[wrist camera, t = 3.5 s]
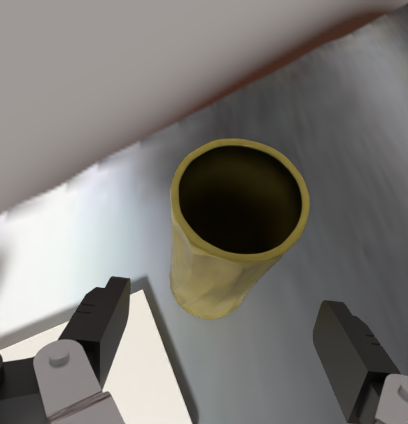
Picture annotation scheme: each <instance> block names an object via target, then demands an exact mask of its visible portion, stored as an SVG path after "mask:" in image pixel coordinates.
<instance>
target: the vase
mask: <svg viewBox="0 0 408 424" xmlns="http://www.w3.org/2000/svg"><path fill="white" fill-rule="evenodd" d="M170 203H171V224H172V258H171V271H170V285H171V290H172V293H173V295H174V297H175V299H176V301H177V302H178V304H179V305H180V306H181V307H182V308H183V309H184V310H186V311H187V312H189V313H190V314H192V315H195V316H197V317H200V318H204V319H214V318H220V317H223V316H226V315H228V314H230V313H231V312H233V311H234V310H235V309H236V308H237V307H238V306H239V305H240V304H241V302H242V301H243V299H244V297H245V295H246V294H247V293H248V292H249V290H250V289H251V288H252V287H253V285H254V284H255V283H256V282H257V281H258V280H259V279H260V278H261V277H262V276H263V275H264V274H265V273H266V272H267V271H268V270H269V269H270V268H271V267H272V266H273V265H274V264H275V263H276V262H277V261H278V260H279V259H280V258H281V257H282V255H283V254H284V253H285V252H287V251H288V250H289V249H290V248H291V247H292V246H293V245H294V244H295V243H296V242H297V241H298V240H299V239H300V237H301V235H302V233H303V231H304V228H305V226H306V223H307V219H308V215H309V209H310V199H309V193H308V190H307V187H306V184H305V181H304V179H303V178H302V176H301V174H300V173H299V171H298V170H297V169H296V168H295V166H294V165H293V164H292V163H291V162H290V160H289V159H287V158H286V157H285V156H284V155H283V154H281V153H280V152H278V151H277V150H275V149H273V148H272V147H269V146H267V145H264V144H261V143H258V142H254V141H250V140H245V139H238V138H233V139H220V140H214V141H211V142H209V143H207V144H205V145H203V146H201V147H199V148H197V149H196V150H194V151H192V152H191V153H190V154H188V155H187V156H186V157H185V158H184V159H183V160H182V162H181V163H180V165H179V166H178V168H177V170H176V172H175V174H174V177H173V180H172V183H171V188H170Z"/></svg>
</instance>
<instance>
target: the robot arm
mask: <svg viewBox="0 0 408 424" xmlns="http://www.w3.org/2000/svg"><path fill="white" fill-rule="evenodd" d="M129 306H130V278H123V277H114V276H112V277H111V278H110V279H109V281H108V283H107V285H106V287H105V288H99V287H96V288H94V289H93V290H92V291H90V292H89V293H87V294H86V295H85V297H84V299H83V300H82V302H81V303H80V305H79V306H78V308H77V310H76V312H75V313H74V314H73V316H72V318H71V319H70V321H69V322H68V324H67V326H66V327H65V329H64V330H63V332H62V333H61V335H60V337H59V338H58V340H57V341H54V342H51V343H49V344H47V345H45V346H44V347H43V348H41V349H40V350H39V351H38V352H37V354H36V355H35V356H34V357H31V358H26V359H20V360H13V361H7V362H3V358H2V356H1V354H0V424H125V422H124V420H123V418H122V416H121V414H120V412H119V410H118V407H117V405H116V403H115V401H114V399H113V397H112V395H111V394H110V392H108V391H106V392H104V393H103V391H102V390H103V388H104V385H105V382H106V380H107V377H108V374H109V371H110V369H111V366H112V363H113V360H114V358H115V355H116V352H117V349H118V347H119V344H120V341H121V339H122V336H123V333H124V330H125V328H126V325H127V321H128V316H129ZM313 342H314V346H315V349H316V351H317V353H318V356H319V358H320V360H321V363H322V365H323V367H324V370H325V372H326V374H327V377H328V379H329V381H330V384H331V386H332V388H333V391H334V393H335V396H336V398H337V400H338V403H339V405H340V407H341V410H342V412H343V414H344V417H345V419H346V421H347V423H352V424H408V377H407V376H404V375H401V373H400V372H399V370H398V369H397V367H396V366H395V364H394V363H393V362H392V360H391V359H390V357H389V356H388V354H387V353H386V352H385V350H384V349H383V347H382V346H380V343H379V342H378V340H377V339H376V338H375V337H374V334H373V333H372V331H371V330H370V329H369V327H368V326H367V325H366V324H365V323H364V322H363V321H361V320H360V319H359V318H358V317H357V316H353V315H352V314H351V312H350V311H349V309H348V308H347V306H346V305H345V304H344V303H343V302H336V301H327V300H324V301H323V302H322V304H321V306H320V310H319V313H318V316H317V320H316V323H315V326H314V330H313Z"/></svg>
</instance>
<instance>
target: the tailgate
mask: <svg viewBox="0 0 408 424" xmlns="http://www.w3.org/2000/svg"><path fill="white" fill-rule="evenodd" d="M68 322H69V321H67V322H65V323H63V324H60V325H58V326H56V327H53V328H51V329H49V330H46V331H44V332H42V333H39V334H37V335H35V336H32V337H30V338H28V339H25V340H23V341H21V342H18V343H16V344H14V345H11V346H9V347H7V348H4V349H2V350H0V354H1V356H2V358H3V362H7V361H13V360H20V359H26V358H31V357H34V356H35V355H36V354H37V352H38V351H39V350H40V349H41V348H43V347H44V346H45V345H47V344H49V343H51V342H54V341H57V340H58V338H59V337H60V335H61V333H62V332H63V330H64V329H65V327H66V326H67V324H68ZM102 391H103V393H104V392H106V391H108V392H110V394H111V395H112V397H113V399H114V401H115V403H116V405H117V407H118V410H119V412H120V414H121V416H122V418H123V420H124V422H125V424H193V423H192V420H191V418H190V415H189V412H188V409H187V407H186V404H185V401H184V399H183V396H182V393H181V390H180V388H179V385H178V382H177V380H176V377H175V374H174V371H173V369H172V366H171V363H170V361H169V358H168V355H167V352H166V350H165V347H164V344H163V342H162V339H161V336H160V333H159V331H158V328H157V325H156V323H155V320H154V317H153V314H152V312H151V309H150V306H149V304H148V301H147V298H146V295H145V293H144V291H143V289H142V290H140V291H138V292H135V293H133V294H131V295H130V306H129V316H128V321H127V325H126V328H125V330H124V333H123V336H122V339H121V341H120V344H119V347H118V349H117V352H116V355H115V358H114V360H113V363H112V366H111V369H110V371H109V374H108V377H107V380H106V382H105V385H104V388H103V390H102Z"/></svg>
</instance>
